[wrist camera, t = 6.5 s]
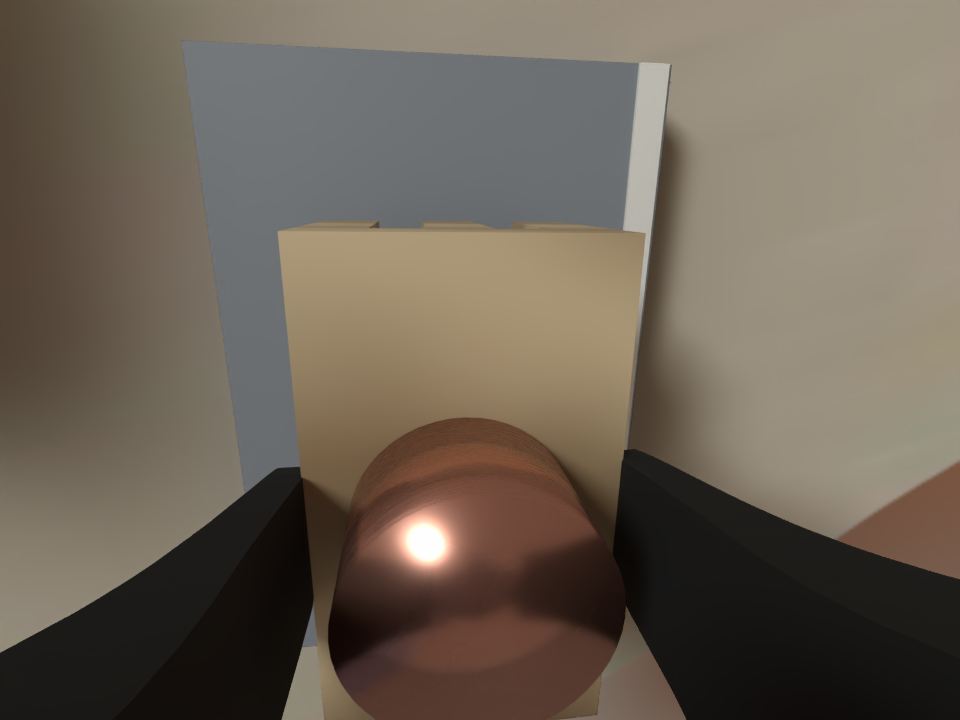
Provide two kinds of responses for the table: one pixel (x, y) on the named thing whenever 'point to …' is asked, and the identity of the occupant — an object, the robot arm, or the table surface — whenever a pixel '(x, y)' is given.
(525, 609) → the brown rounded piece
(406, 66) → the loading dock
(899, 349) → the table surface
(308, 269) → the tan rectangular block
